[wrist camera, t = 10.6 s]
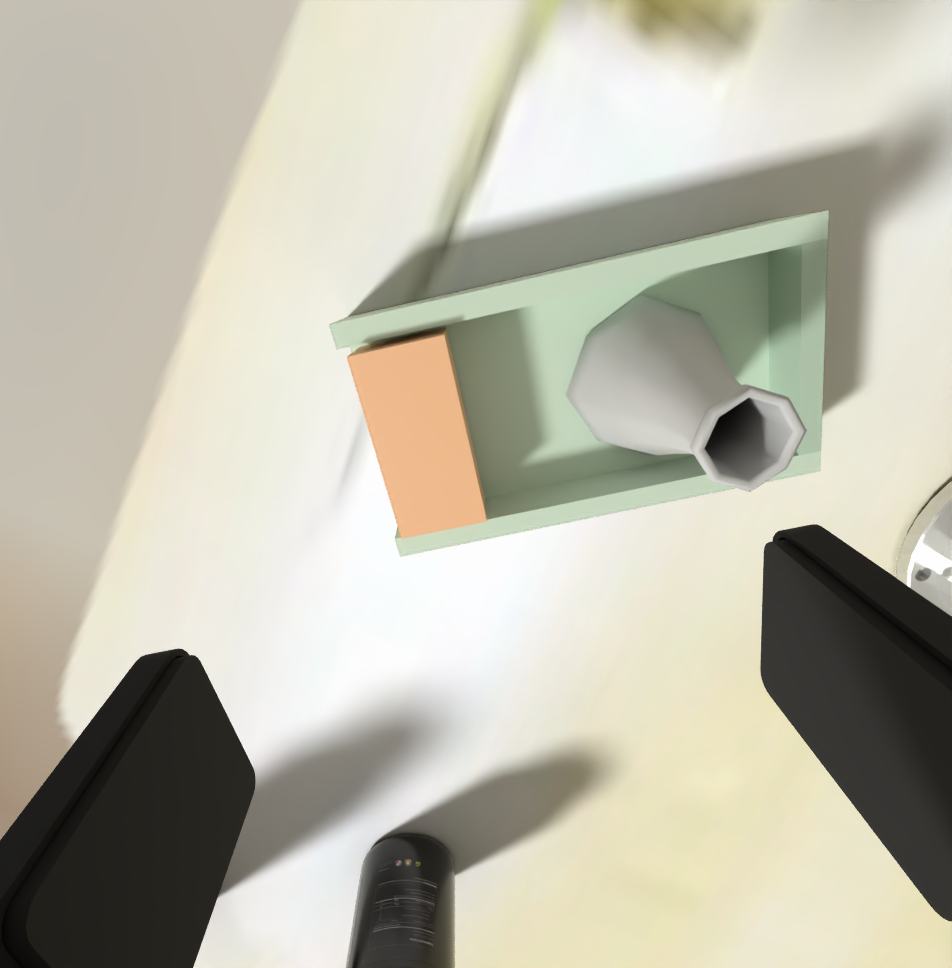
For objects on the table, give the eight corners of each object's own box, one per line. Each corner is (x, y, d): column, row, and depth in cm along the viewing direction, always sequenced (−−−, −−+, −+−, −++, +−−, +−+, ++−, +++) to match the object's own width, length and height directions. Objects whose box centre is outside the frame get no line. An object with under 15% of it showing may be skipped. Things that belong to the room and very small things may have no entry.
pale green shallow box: (776, 218, 24) (828, 210, 21) (776, 446, 28) (820, 471, 25) (346, 317, 25) (329, 324, 22) (407, 522, 29) (400, 556, 26)
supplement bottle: (453, 891, 41) (450, 1123, 30) (363, 890, 41) (327, 1125, 30) (458, 830, 38) (457, 1059, 27) (362, 828, 38) (322, 1059, 27)
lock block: (445, 327, 24) (444, 334, 21) (484, 495, 27) (487, 521, 24) (359, 346, 24) (346, 356, 21) (407, 511, 27) (401, 538, 24)
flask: (537, 399, 26) (582, 473, 16) (636, 263, 23) (751, 260, 14) (651, 476, 27) (750, 584, 18) (752, 357, 25) (924, 408, 16)
